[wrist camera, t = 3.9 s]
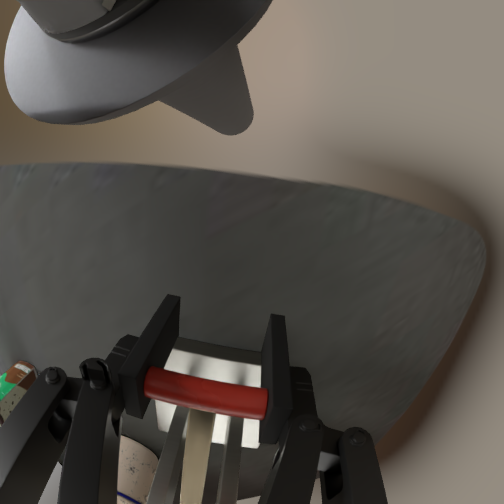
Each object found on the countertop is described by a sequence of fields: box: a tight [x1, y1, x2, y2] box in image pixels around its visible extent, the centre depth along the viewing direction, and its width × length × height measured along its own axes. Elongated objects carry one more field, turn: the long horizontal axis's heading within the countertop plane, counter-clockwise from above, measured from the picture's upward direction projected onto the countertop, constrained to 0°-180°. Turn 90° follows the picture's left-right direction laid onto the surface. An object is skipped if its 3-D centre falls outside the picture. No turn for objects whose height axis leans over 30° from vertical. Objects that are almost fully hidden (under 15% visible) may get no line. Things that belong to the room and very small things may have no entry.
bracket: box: [146, 337, 261, 504], centre depth 14 cm, size 12×10×15 cm
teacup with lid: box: [117, 435, 159, 504], centre depth 21 cm, size 12×9×12 cm
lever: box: [143, 366, 269, 504], centre depth 10 cm, size 13×5×2 cm, turn 170°
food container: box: [0, 361, 38, 427], centre depth 20 cm, size 12×6×10 cm, turn 163°
